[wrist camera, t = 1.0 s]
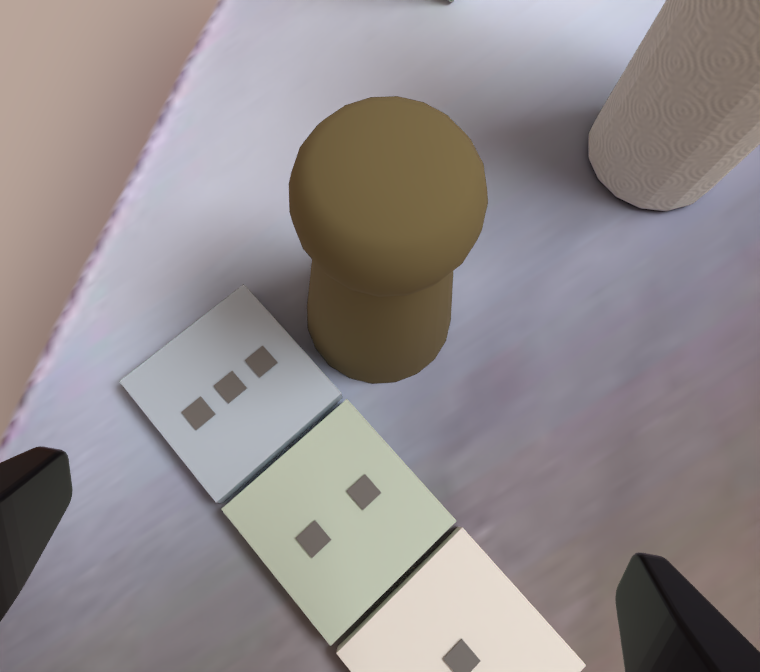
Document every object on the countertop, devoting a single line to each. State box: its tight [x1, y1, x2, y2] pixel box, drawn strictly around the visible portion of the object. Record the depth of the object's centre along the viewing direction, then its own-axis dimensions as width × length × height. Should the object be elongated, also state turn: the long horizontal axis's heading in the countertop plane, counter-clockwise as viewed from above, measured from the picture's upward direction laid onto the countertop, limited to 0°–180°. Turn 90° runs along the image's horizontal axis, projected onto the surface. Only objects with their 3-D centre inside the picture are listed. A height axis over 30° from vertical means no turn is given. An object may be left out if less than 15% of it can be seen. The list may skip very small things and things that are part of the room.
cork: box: [289, 96, 488, 384], centre depth 19 cm, size 6×6×11 cm
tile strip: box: [119, 284, 586, 672], centre depth 21 cm, size 6×19×1 cm, turn 42°
